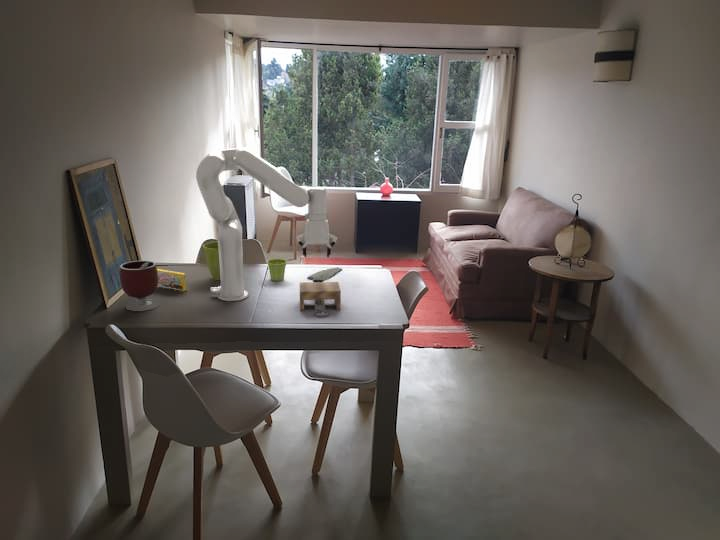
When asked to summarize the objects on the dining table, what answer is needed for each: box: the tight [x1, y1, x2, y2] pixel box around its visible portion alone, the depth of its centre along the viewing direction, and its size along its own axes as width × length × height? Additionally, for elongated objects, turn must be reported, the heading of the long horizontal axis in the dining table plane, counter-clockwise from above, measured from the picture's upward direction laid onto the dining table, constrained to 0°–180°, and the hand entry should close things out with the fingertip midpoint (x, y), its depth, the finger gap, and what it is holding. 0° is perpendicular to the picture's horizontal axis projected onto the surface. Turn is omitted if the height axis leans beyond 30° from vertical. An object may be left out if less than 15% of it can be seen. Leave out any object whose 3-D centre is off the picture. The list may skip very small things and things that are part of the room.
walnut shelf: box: [299, 281, 342, 312], centre depth 219 cm, size 16×12×8 cm
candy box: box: [157, 268, 187, 290], centre depth 235 cm, size 16×2×8 cm, turn 68°
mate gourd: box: [119, 260, 158, 307], centre depth 212 cm, size 16×14×20 cm
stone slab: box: [306, 267, 342, 282], centre depth 263 cm, size 22×3×10 cm
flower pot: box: [202, 241, 221, 281], centre depth 251 cm, size 15×15×16 cm
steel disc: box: [314, 309, 329, 318], centre depth 210 cm, size 5×5×2 cm
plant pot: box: [266, 258, 288, 282], centre depth 252 cm, size 9×9×9 cm
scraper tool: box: [312, 277, 326, 310], centre depth 225 cm, size 4×21×7 cm, turn 7°
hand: (316, 256), depth 230 cm, fingers open, 9 cm apart
